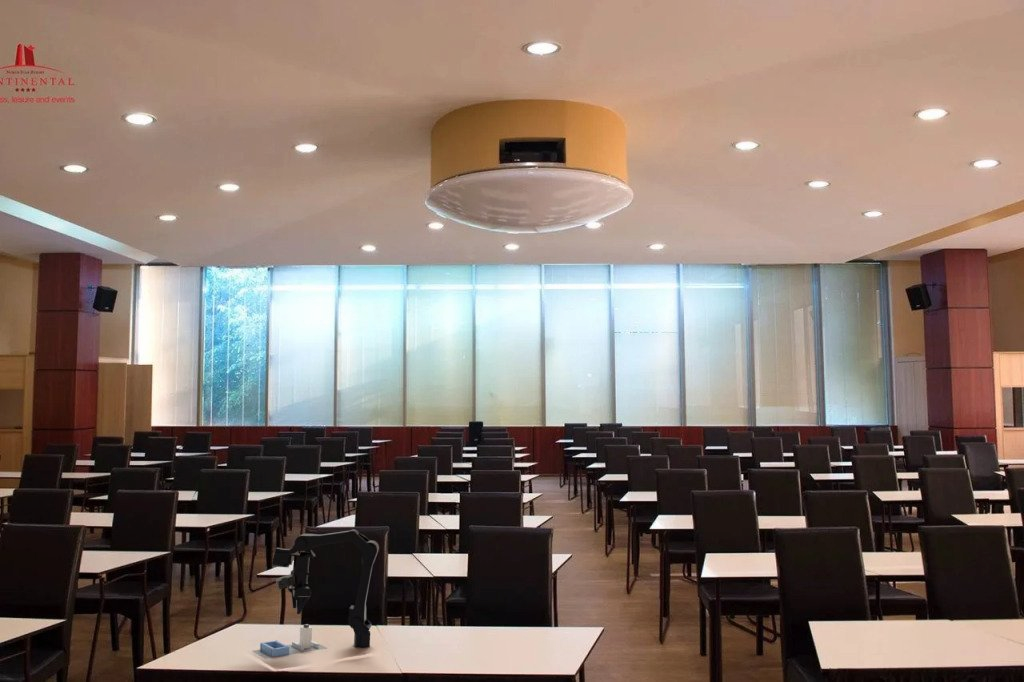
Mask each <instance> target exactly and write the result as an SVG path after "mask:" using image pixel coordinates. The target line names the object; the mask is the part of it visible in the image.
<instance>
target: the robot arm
mask: <svg viewBox="0 0 1024 682" xmlns="http://www.w3.org/2000/svg"><path fill="white" fill-rule="evenodd" d="M294 540H295V541H294V545H293V546H292V547H290V548H289V549H288V548H281V547H276V548H275V549H274V554H273V557H272V564H271V565H272V567H274V568H287V569H288V568H290V566H292V569H291V570H290V573H289V574H286V575H283V576H281V577H277V578H276V579H275V582H276V586H277V588H278V590H283V589H285V588H286V589H287V590H288V591H289V593H290V596H291V603H292V604H291V605H292V608H293V609H296V614H297V615H301V613H302V611H303V609H304V607H305V606H306V603H307V602H308V601H309V599H310V598H311V596H312V593H313V592H312V590H311V588H310V587H309V583H308V577H309V575H310V571H309V569H310V568H309V566H310V561H311V560H310V558H312V559H313V558H314V557H316V554H315V553H314V551H313V550H312V549H314V548H317V547H320V546H323V545H333V544H339V543H346V542H351V543H352V544H353V545H355V546H356V548H357V549H359V550H360V551H361V565H362V566H361V572H360V577H359V581H358V582H359V583H358V588H357V594H356V598H355V603H354V605H353V604H352V605H350V607H349V610H348V617H347V619H346V620H347V621H348V625H349V627H350V628H351V629H353V632H354V637H353V646H354V648H358V649H366V648H371V647H370V646H371V631H370V630H371V627H372V623H371V621H369V619H368V618H367V598H368V593H369V586H370V582H371V581H370V580H371V578H372V577H371V576H372V571H373V565H374V564H375V561H376V558H377V555H378V554H379V551H380V546H379V543H378V542H377V541H376V540H373V539H372V540H370V539H369V538H368V537H367V536H365V535H364V534H361V532H359V531H358V530H356V529H351V530H345V531H339V532H338V531H337V532H336V531H335V532H331V533H324V534H318V533H317V534H316V533H302V534H300V535H298V536H297V537H296V538H295V539H294ZM308 550H309V551H308ZM298 552H300V553H298Z"/></svg>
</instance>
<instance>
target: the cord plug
mask: <svg viewBox="0 0 1024 682" xmlns="http://www.w3.org/2000/svg"><path fill="white" fill-rule="evenodd" d="M299 628H300V629H299V643H300V644H301V645H303V646H304V648H310V647H311V642H312V641H313V639H312V638H313V627H312V626H310V624H309V623H305V624H303V626H300V627H299Z"/></svg>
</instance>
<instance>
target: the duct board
mask: <svg viewBox="0 0 1024 682" xmlns="http://www.w3.org/2000/svg"><path fill="white" fill-rule="evenodd" d="M325 649H327V647H326V646H324V645H322V644H319V643H318V642H316V641H314V640H312V642H311V647H310V648H304V646H303V645H301V644H300V642H296V641H292V642H291V644H285V643H282V642H281V641H278V640H269V641H263V642H260V644H259V649H255V650H254V649H253V650H252V652H253V653H255V654H257V655H258V656H260V657H262V658H264V659H270V658H276V657H284V656H289V655H295V654H300V653H308V652H314V651H320V650H325Z"/></svg>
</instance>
